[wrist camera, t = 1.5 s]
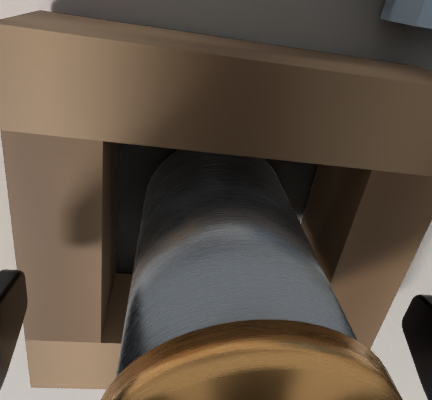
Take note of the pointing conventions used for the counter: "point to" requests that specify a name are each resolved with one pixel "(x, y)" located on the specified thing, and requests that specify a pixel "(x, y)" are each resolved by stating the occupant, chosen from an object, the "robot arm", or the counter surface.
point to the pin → (234, 296)
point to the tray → (408, 12)
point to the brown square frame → (204, 142)
